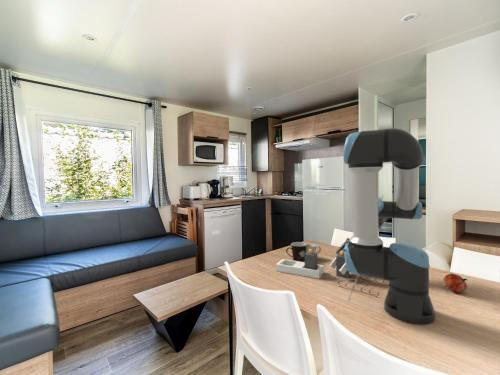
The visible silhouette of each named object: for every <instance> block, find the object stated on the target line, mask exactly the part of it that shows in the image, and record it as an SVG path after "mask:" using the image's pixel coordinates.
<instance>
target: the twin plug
mask: <svg viewBox="0 0 500 375" xmlns="http://www.w3.org/2000/svg"><path fill="white" fill-rule="evenodd" d="M304 255H305V268H306V269H312V270H317V269H318V263H319V262H318V257H319V256H318V254H317V253H316V251H315V252H313V249H309V252H307V253H305V254H304Z"/></svg>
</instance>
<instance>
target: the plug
mask: <svg viewBox="0 0 500 375" xmlns="http://www.w3.org/2000/svg"><path fill="white" fill-rule="evenodd" d="M344 252H345V251H340V254H338V255H337V254H336V255H335V257H336V267H335V268H336V277H341V278H346V279H348V278H349V275H350V272H349V271H348V270H347V271H346V272H345V274H344V275H343V274H342V273H341V272H340V271H339V270H340V269H341V267H342V266H343V265H344V264H345V255H344Z"/></svg>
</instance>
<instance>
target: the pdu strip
mask: <svg viewBox="0 0 500 375" xmlns="http://www.w3.org/2000/svg"><path fill="white" fill-rule="evenodd" d="M324 267H325V266H324V265H323V264H318V269H317V270H312V269H306V268H305V262H299V261H293V259H285V258H282V259H281V260H279V261H278V262H277V263H275V271H276V272H280V273H283V274H284V273H286V274H291V275H295V276H302V277H305V278H313V279H318V280H320V278H321V277H322V275H323V274H324V273H325V271H324V270H325V269H324Z"/></svg>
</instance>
